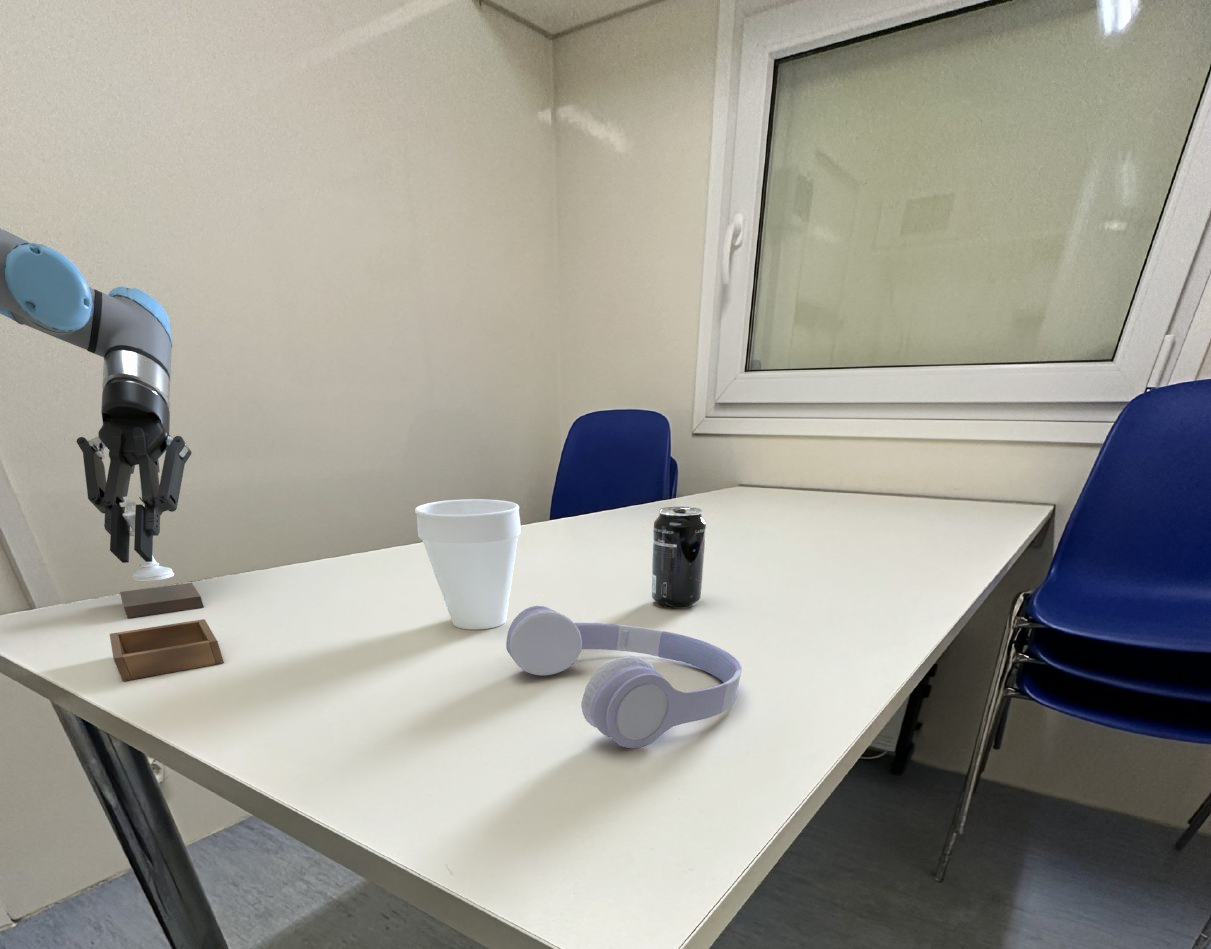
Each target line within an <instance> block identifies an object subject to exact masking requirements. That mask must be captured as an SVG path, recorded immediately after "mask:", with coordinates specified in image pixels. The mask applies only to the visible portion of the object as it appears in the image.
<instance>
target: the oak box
mask: <svg viewBox="0 0 1211 949" xmlns="http://www.w3.org/2000/svg"><path fill="white" fill-rule="evenodd" d="M109 639H110V647H111V652H112V658H113V661H114V663H115V666H116V669H117V671H118V673H119V676H120V678H121V681H122V682H127V681H132V680H138V679H145V678H149V677H153V676H154V677H155V676H159V675H166V674H170V673H175V672H181V671H188V670H193V669H197V668H198V669H199V668H202V667H208V666H214V665H221V664H224V663H225V660H224V658H223V654H222V652H221V648H220V644H219V642H218V640H217V638H216V636H215V635H214V633H213V631H212V629H211V627H210V626H209V624H208V622H207V620H206V619H204V618H202V619H198V620H190V621H189V620H188V621H184V622H177V623H172V624H164V625H158V626H157V625H156V626H151V627H145V628H144V627H143V628H138V629H131V630H124V631H119V632H118V631H117V632H113V633H112V632H111V633H109Z"/></svg>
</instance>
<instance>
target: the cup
mask: <svg viewBox="0 0 1211 949" xmlns="http://www.w3.org/2000/svg"><path fill="white" fill-rule="evenodd" d="M414 514H416V524H417V525H416V526H417V537H418V538H419V539H420V540H422V544H423V546H424V549H425V552H426V555H427V556H428V560H429V562H430V565H431V568H432V570H433V572H434V576H435V579H436V581H437V584H438V587H439V590H440V592H441V595H442V598H443V601H444V603H445V605H446V608H447V611H448V614H449V616H450V620H451V622H452V625H453V626H455V627H456V628H459V629H462V630H463V629H464V630H471V631H473V630H477V631H479V630H488V629H494V628H497V627H500V626H502V625H504V624H505V623H506V622H507V616H508V610H509V602H510V596H511V590H512V583H513V577H514V576H513V575H514V569H515V561H516V555H517V548H518V540H519V536H520V535H521V534H522V525H521V516H520V506H519V504H518V503H516V502H514V501H508V500H502V499H490V498H488V499H486V498H467V499H465V498H464V499H449V500H448V499H447V500H439V501H433V502H427V503H424V504H420V505H418V506H417V507H415V509H414Z"/></svg>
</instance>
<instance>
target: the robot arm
mask: <svg viewBox="0 0 1211 949" xmlns="http://www.w3.org/2000/svg"><path fill="white" fill-rule="evenodd" d="M0 315H1V316H4V317H6V318H8V319H11V320H12V321H14V322H16V323H17V324H19V325H21V326H27V327H29V328H32V329H33V330H37V331H39V332H41V333H44V334H46V335H48V336H50V337H52V338H53V337H54V338H56V339H58V340H60V341H63V342H66V343H67V344H70V345H73V346H76V347H78V348H81V349H83V350H85V351H87V352H89V353H91V354H94V355H96V356H99V357H101V358H103V372H102V391H101V392H102V394H101V418H102V420H101V421H102V425H101V427H100V429H99V430H98V436H96V437H94V438H91V439H89V440H87V439H86V437H84V436H79V437H77V439H76V444H77V445H78V447H79V449H80V451H81V452H82V457H83V466H84V476H85V482H86V493H87V494H86V495H87V499H88V500H89V502H90V503H91V504H92V505H93V506H94V507H95V508H96V509H97V510H98V511H99V512H100V513H101V514H104V524H103V525H104V526H103V527H104V529H105V531H106V532H107V533H108V535H110V536H109V537H110V539H109V551H110V552H111V553H112V554H113V555H114V556H115V557H116V558H117V559H118V560H119V561H120V562H121V563H122V564H126V563H130V543H131V542H130V540H131V538H130V537H131V536H130V535H129V534H130V533H129V532H131V527H130V525H129V524H128V522H127V521H126V520H125V518H124V517H123V515H122V514H123V513H125V511H126V507H121V506H120V504H119V503H123V502H124V499H123V497H128V495H129V494H128V493H129V487H130V481H131V477H132V475H133V474H134V473H135V468H136V466H138V470H139V481H140V491H141V496H138V497H139V500H140V501H141V502H142V503H143V504H144V505H143V504H142V503H141V504H136V505H135V510H134V511H135V536H134V542H133V543H134V544H133V550H134V551H135V553H137V554H138V555H139V557H140V556H141V557H142V558H143V559H144V560H145V561H146V562H152V555H153V547H154V545H153V544H154V536H159V535H160V532H161V515H163V513H164V512H167V511H169V512H171V513H173V512H176V511H177V509H178V505H179V504H178V503H179V498H180V494H181V487H182V482H183V476H184V471H185V465H186V463H187V462H188V460H189V458H190V457H191V456H192V450H191V449H190V447H189V445H188V444H187V443H186V441H185V439H184V437H182V436H181V435H176V436H174V437H173V436H171V435H170V427H171V426H170V424H171V421H170V420H171V410H170V409H171V408H170V407H171V374H172V373H171V372H172V370H171V369H172V349H173V339H172V326H171V321H170V318H169V315H168V313H167V311H166V310H165V308H164V307H163V306H162V305H161V303H159V301H158V300H156V299H155V298H154V297H153V296H152V295H150V294H149V293H147V292H145V291H143V290H141V289H139V288H136V287H133V288H131V287H126V286H123V285H122V286H117V287H114V288H112V289H111V290H110V291H109V292H108V293H105V292H102V291H100V290H98V289H95V288H92V287H91V286H89V284H88V281H87V280H86V278H85V277H84V275H83V273H82V272H81V271H80V269H79V268H78V267H77V266H76V265H75V263H74V262H72V261H71V259H69V258H68V257H66V256H65V255H64V254H63V253H61V252H59V251H57V250H56V249H53V248H52V247H49V246H47V245H45V244H41V243H35V242H30V241H28V240H25V239H24V238H22V237H20V236H17V235H15V234H13V233H11V232H9V231H8V230H4V229H2V228H0ZM105 448H107V450H108V457H109V459H110V460H109V466H108V472H107V476H106V469H105V463H104V461H103V460H104V459H105V457H106V456H105V455H104V454H105V453H104V449H105ZM163 454H165V455H164V458H163V459H164V460H163V465H162V468H161V469H162V470H160V461H159V459H160V458H161V457H162V456H163ZM160 471H161V476H160V479H159V473H160Z"/></svg>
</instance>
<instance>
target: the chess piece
mask: <svg viewBox="0 0 1211 949" xmlns="http://www.w3.org/2000/svg"><path fill="white" fill-rule="evenodd" d="M123 499H124V502H123V503H119V504H120V506H121V507H125V508H126V510H127V511H126V510H125V511H126V512H125V513H123V514H122V515H123V517H124V518H125V520H126V521H127V522H128V524H129V525H130V529H131V530H130V532H129V533H130V534H129V535H130V537H135V511H136V510H134V509H133V508H132V507H134V506H136V505H137V504H136V501H130V499H129V496H127V497H123ZM139 557H140V562H141V563H140V564H139V567H140V568H138V569H136V570H135V571H133V572H132V573H131V576H132V580H133V581H135V582H140V583H141V582H142V583H145V582H158V581H163V580H166V579H167V580H168V579H171V578H172V577H174V576H175V573H174V572H173V569H172V568H171V567H168V566H162V565H160V562H157V560H156V559H155V557H154V555H153V554H152V562H146V561H145V560H144V559H143V558H142V557H141V556H140V555H139Z"/></svg>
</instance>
